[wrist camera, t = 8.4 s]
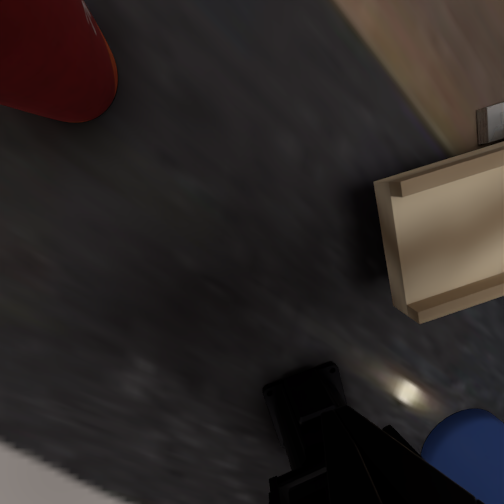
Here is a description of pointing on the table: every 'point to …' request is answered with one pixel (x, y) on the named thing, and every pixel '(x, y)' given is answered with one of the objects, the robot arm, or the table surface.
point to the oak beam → (444, 233)
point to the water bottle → (470, 453)
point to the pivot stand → (490, 123)
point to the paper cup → (54, 60)
